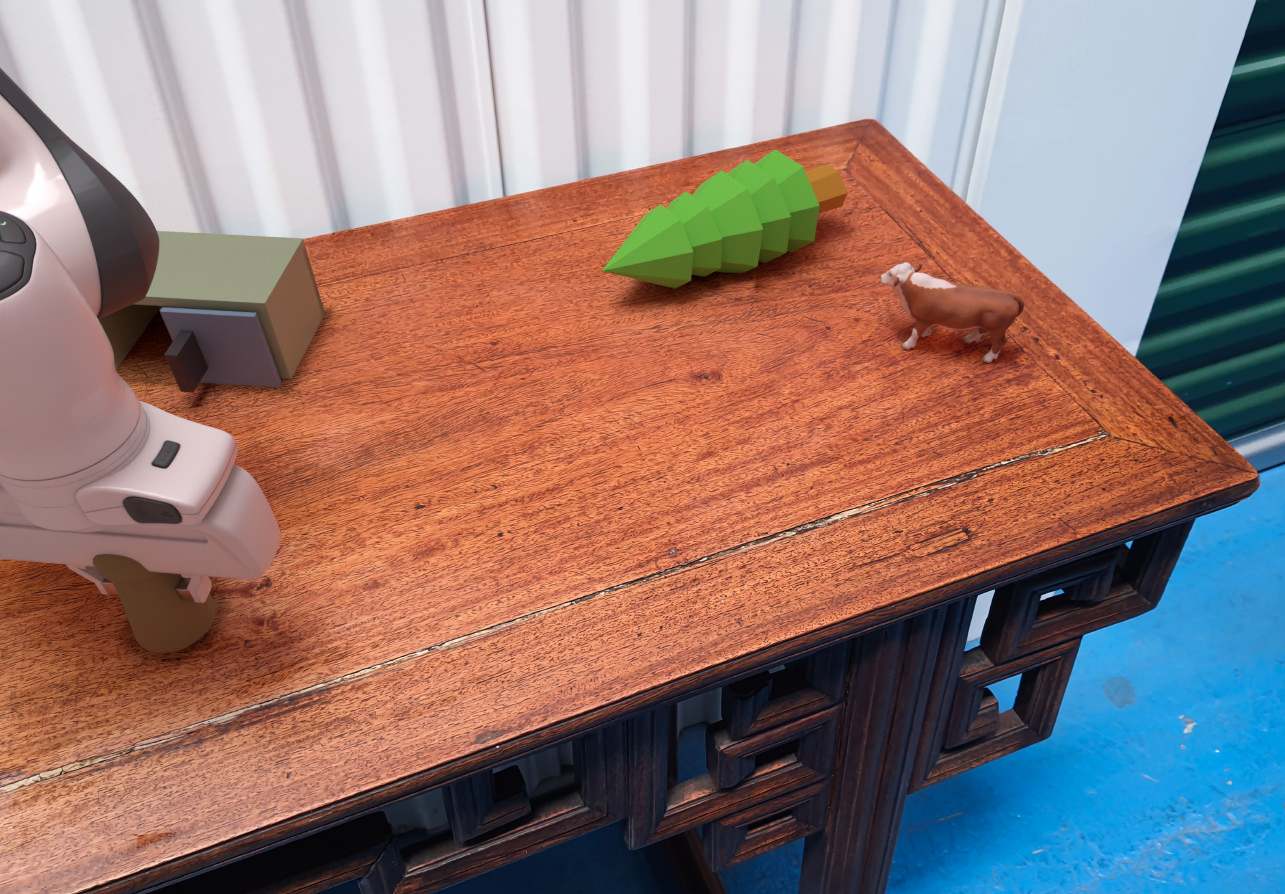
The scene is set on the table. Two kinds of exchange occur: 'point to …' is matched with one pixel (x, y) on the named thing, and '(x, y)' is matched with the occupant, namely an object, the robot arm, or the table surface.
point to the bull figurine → (953, 306)
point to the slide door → (218, 349)
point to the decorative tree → (730, 222)
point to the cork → (156, 605)
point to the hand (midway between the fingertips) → (159, 591)
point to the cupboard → (230, 290)
